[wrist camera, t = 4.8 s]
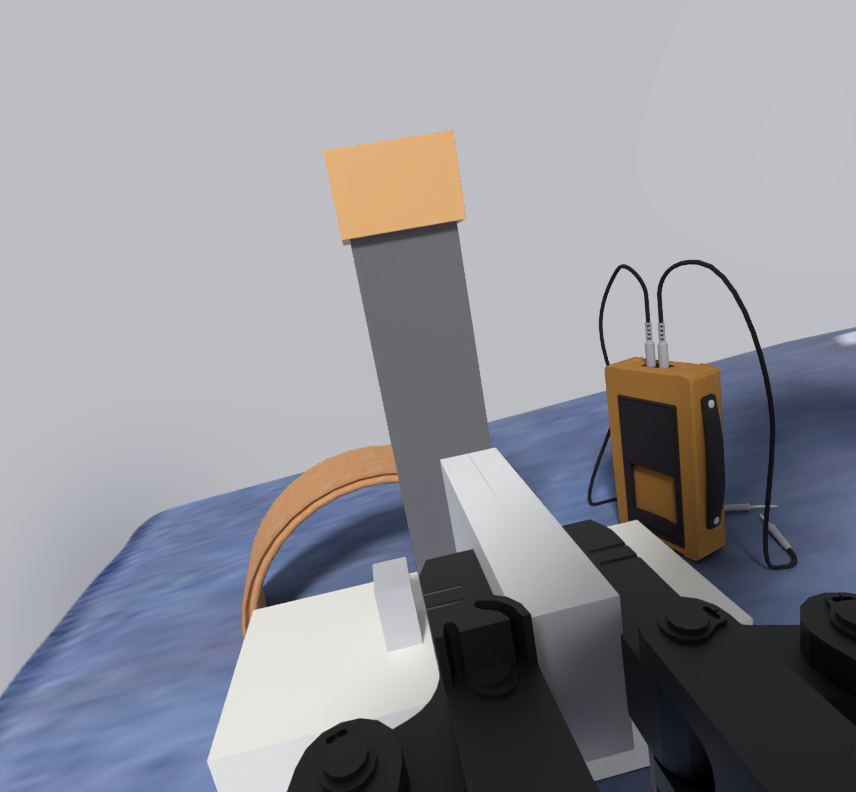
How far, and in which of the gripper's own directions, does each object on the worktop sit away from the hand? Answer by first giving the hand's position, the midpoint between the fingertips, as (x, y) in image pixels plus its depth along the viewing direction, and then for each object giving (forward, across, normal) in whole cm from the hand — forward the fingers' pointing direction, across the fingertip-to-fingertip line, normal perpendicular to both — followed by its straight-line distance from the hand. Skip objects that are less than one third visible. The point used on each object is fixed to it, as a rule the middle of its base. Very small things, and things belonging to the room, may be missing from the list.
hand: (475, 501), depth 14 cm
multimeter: (+21, +20, -16) cm, 33 cm away
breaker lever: (+9, 0, -8) cm, 12 cm away
